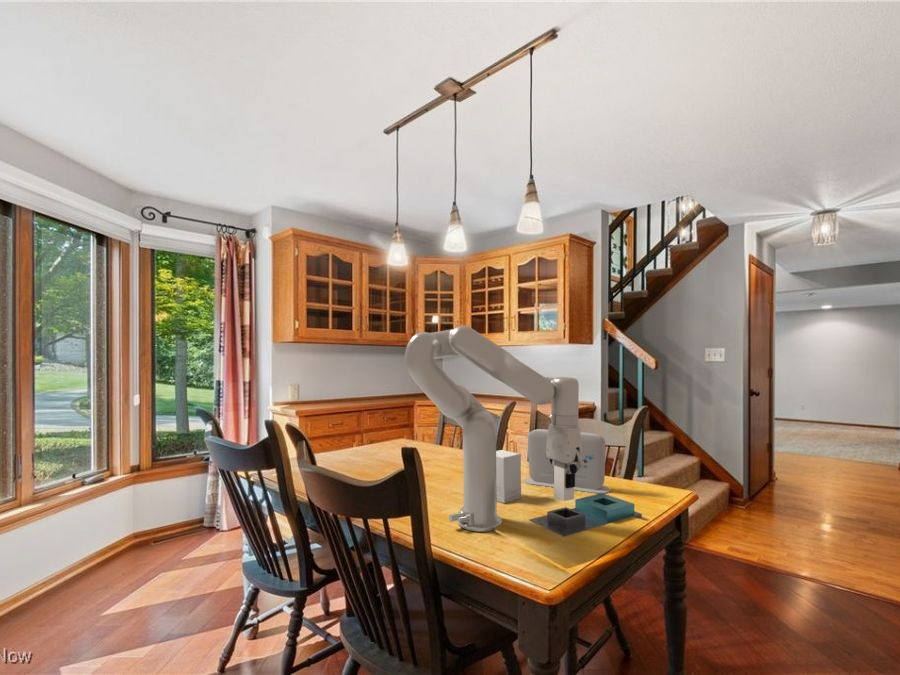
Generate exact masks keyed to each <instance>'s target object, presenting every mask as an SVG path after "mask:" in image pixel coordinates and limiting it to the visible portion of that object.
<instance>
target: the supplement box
mask: <svg viewBox="0 0 900 675" xmlns="http://www.w3.org/2000/svg"><path fill="white" fill-rule="evenodd" d="M521 455H522V454H521V453H518V452H513V451H507V450H504V449H503V450H502V449H499V450H496V489H497V502H499V503H501V504H507V503H509V502H513V501H516V500H519V499H521V498H522V464H521V463H522V462H521V461H522V456H521Z"/></svg>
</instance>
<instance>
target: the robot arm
mask: <svg viewBox="0 0 900 675" xmlns="http://www.w3.org/2000/svg"><path fill="white" fill-rule="evenodd" d="M406 345H407V346H406V349H405V353H404V364H405V368H406V371H407V373H408V375H409V376H410V378H411V380H412V381H413V383H414V384H416V386H417V387H419V389H420V390H421V391H422V392H423V393H424V394H425V395H426V397H427V398H428V399H429V400H430V401H431V402H432V404H434V405H435V407H437V408H438V410H439V411H440V412H441V413H442V415H444V417H447V418H449V419H451V420H454V421H455V423H457V425H459V427H461V429H462V454H463V455H462V459H463V461H462V465H463V466H462V467H463V468H462V470H463V472H462V473H463V475H462V476H463V478H462V479H463V506H462V507H460V509H459V511H458V512H457V513H452V514H449V515H448V520H449V522H450V523H452V522H456V521H457V523H458V526H459V527H461V528H463V529H464V530H467V531H472V532H479V533H480V532H481V533H482V532H484V533H485V532H491V531H495V530H496V528H497V527H499V526H500V525H501V524H502V523H503V519H502V518H501V516H499V515H497V512H498V511H497V510H498V509H497V507H498V506H497V502H498V501H497V489H496V451H497V440H498V439H497V438H498V437H497V425H496V422H495V418H494V417H493V415H492V414H491V412H489V411H488V410H487V408H485V406H484V405H483V404H482V403H480V401H479V400H478V399H477V398H476V397H475V396H474V395H473V394H472V393H471V392H470V391H469V390H468V389H467V388H466V387H464V386H463V385H461V384H457V383H455V381H453V379H452V378H450V377H449V376H448V374H447V373H446V372H445V371H444V370H443V369H442V368H441V367H440V366H439V365H438V364H437V361H436V360H439V359H445V358H451V357H457V356H461V357H462V358H463V359H465V360H466V361H468V362H469V363H471V364H473V365H474V366H476V367H477V368H478V369H480V370H481V371H483V372H484V373H486V374H488V375H489V376H491V377H492V378H494V379H496V380H498V381H500V382H502V383H503V384H504V385H506V386H507V387H509V388H511V389H512V390H514V391H515V392H517V393H518V394H520V395H522V397H524V398H526V399H528V400H529V401H530V402H532V403H534V404H536V405H540V406H541V405H542V406H543V405H546V404H548V403H550V402H551V414H550V417H549V418H550V423H549V425H548V427H547V428H548V429H547V430H548V433H547V443H546V457H547V458H548V459H549V460H550V463H551V465H552V469H554V460H556V461H559V462H562V463H566V468H567V474H566V479H565V487H566V488H572V487H575V473H577V471H578V470H579V469H580V468H582V467H584V462H583V460H582V442H581V434H580V432H581V429H580V426H579V394H580V393H579V390H580V389H579V386H580V385H579V381H578V379H576V378H574V377H567V376H566V377H563V376H559V377H549V376H548V377H547V376H544V375H542V374H540V373H539V372H537V371H535V370H534V369H532V368H531V367H530V366H528V365H526V364H525V363H523V362H522V361H520V360H519V359H517V358H516V357H515V356H514V355H513V354H511V353H510V352H508V351H507V350H506V349H504V348H502V347H501V346H500V345H498V344H497V343H495V342H493V341H492V340H490V339H488V338H487V337H485V336H484V335H483V334H481V333H480V332H478V331H477V330H475V329H474V328H472V327H470V326H468V325H462V324H461V325H458V326H456V327H455V328H451V329H446V330H441V331H440V330H439V331H435V332H428V331H427V332H426V331H420V332H417V333H416V334H414V335H413V336H412V337H411V338H410V339H409V340H408V343H407V344H406ZM576 462H577V464H576ZM571 464H572V467H571ZM553 483H554V470H553Z"/></svg>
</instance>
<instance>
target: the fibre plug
mask: <svg viewBox="0 0 900 675" xmlns="http://www.w3.org/2000/svg"><path fill="white" fill-rule="evenodd" d="M571 467H572V464H571ZM566 474H567V468H566V463H562V462H559V461H556V460H554V488H553V498H555V499H557V500H561V502H566V501H572V500H575V491H574V487H572V488H566V487H565V479H566Z"/></svg>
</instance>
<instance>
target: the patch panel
mask: <svg viewBox="0 0 900 675" xmlns="http://www.w3.org/2000/svg"><path fill="white" fill-rule="evenodd" d="M574 501H575V503H574V504H575V506H574V507H573V508H569V507H566V506H564V507H561V508H557V509H553V510H548V511H547V514H546V515H542V516H538V517H535V518H531V519H530V518H529V519H528V521H529V522H532V523H534V524H536V525H538V526H540V527H542V528H543V529H546V530H548V531H551V532H553V533H555V534H557V535H559V536H560V537H568V536H571V535H574V534H578V533H581V532H585V531H588V530H591V529H595V528H598V527H602V526H606V525H609V524H612V523H616V522H619V521H622V520H626V519H629V518H633V517H634V518H635V519H640V518H643V516H642V513H641V512H638V511H635V503H633V502H630V501H627V500H624V499H620V498H618V497H616V496H612V495H610V494H607V493H606V494H603V493H600V494H592V495H588V496H585V497H580V498H576V499H574Z"/></svg>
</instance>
